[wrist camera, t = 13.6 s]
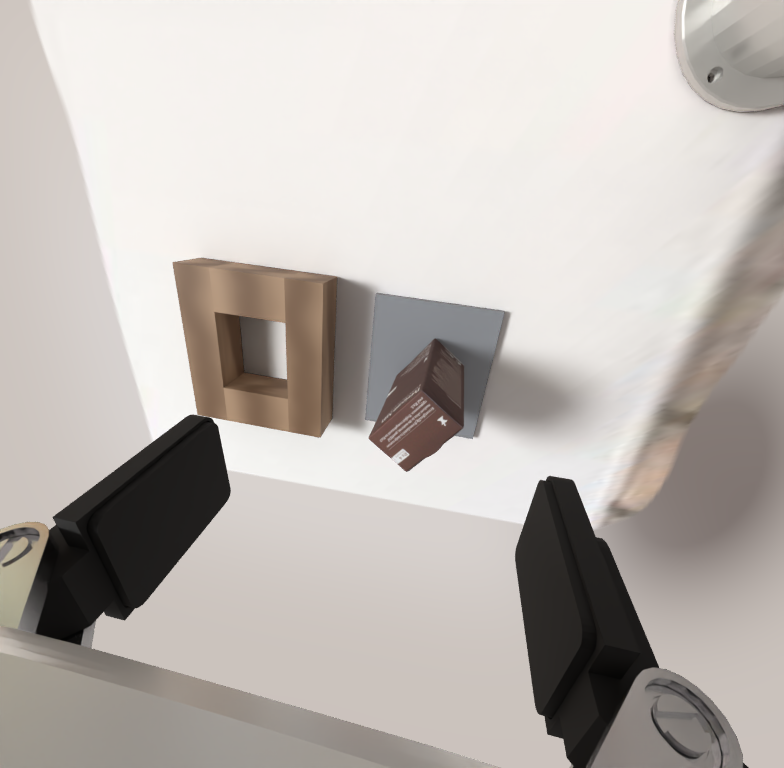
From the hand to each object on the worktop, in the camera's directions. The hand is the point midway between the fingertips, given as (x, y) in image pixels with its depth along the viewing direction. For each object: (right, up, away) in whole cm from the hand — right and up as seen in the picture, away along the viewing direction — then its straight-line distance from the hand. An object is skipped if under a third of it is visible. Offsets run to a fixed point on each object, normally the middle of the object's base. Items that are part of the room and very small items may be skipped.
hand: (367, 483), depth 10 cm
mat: (+4, +4, +26) cm, 27 cm away
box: (+4, +4, +25) cm, 26 cm away
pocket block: (-12, +7, +28) cm, 31 cm away
